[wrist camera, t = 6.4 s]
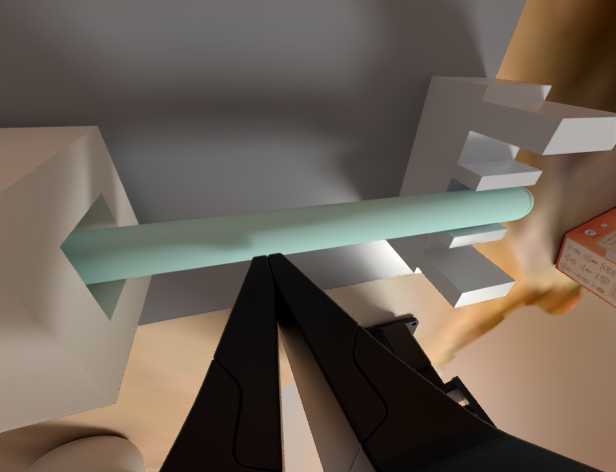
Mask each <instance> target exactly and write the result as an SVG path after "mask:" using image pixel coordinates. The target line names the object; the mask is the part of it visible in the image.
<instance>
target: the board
mask: <svg viewBox="0 0 616 472" xmlns="http://www.w3.org/2000/svg"><path fill="white" fill-rule="evenodd" d="M525 2H526V0H0V128H28V127H69V126H98V128H99V131H100V133H101V135H102V138H103V140H104V142H105V145H106V147H107V150H108V152H109V154H110V157H111V159H112V162H113V164H114V166H115V169H116V171H117V174H118V176H119V178H120V181H121V183H122V185H123V188H124V190H125V193H126V195H127V197H128V200H129V202H130V205H131V207H132V209H133V212H134V214H135V217H136V219H137V221H138V224H139V225H141V224H150V223H159V222H168V221H178V220H187V219H196V218H206V217H215V216H224V215H234V214H243V213H252V212H262V211H271V210H280V209H289V208H299V207H308V206H317V205H327V204H336V203H345V202H355V201H364V200H373V199H382V198H392V197H401V196H410V195H420V194H429V193H438V192H448V191H457V190H466V189H472V190H474V191H483V190H492V189H501V188H510V187H519V186H529V185H535V183H536V181H537V180H538V178H539V176H540V175H541V173H542V170H539V169H537V168H534V167H532V166H529V165H526V164H524V163H521V162H519V161H516V160H514V158H515V156H516V154H517V152H518V150H519V148H523V149H525V150H528V151H531V152H534V153H537V154H540V155H551V154H565V153H578V152H591V151H605V150H612V148H613V147H614V146H615V144H616V113H613V112H607V111H601V110H595V109H590V108H584V107H578V106H572V105H567V104H561V103H555V102H549V101H544V100H545V98H546V96H547V94H548V92H549V90H550V88H551V85H543V84H535V83H527V82H519V81H511V80H503V79H495V77H496V75H497V72H498V70H499V67H500V65H501V62H502V60H503V57H504V55H505V52H506V50H507V47H508V45H509V42H510V40H511V37H512V35H513V32H514V30H515V27H516V25H517V22H518V20H519V17H520V15H521V12H522V10H523V7H524V4H525ZM507 230H508V229H507V228H506V227H504V226H503V225H501V224H499V223H492V224H485V225H478V226H472V227H465V228H458V229H452V230H445V231H439V232H432V233H425V234H419V235H412V236H405V237H399V238H392V239H385V240H379V241H372V242H366V243H359V244H352V245H346V246H339V247H332V248H326V249H319V250H313V251H306V252H299V253H293V254H286V255H284V256H285V257H286V258H288V259H289V260H290V261H291V262H292V263H293V264H294V265H295V266H296V267H297V268H298V269H300V270H301V271H302V272H303V273H304V274H305V275H306V276H307V277H308V278H309V279H310V280H312V281H313V282H314V283H315V284H316V285H317V286H318V287H319V288H320V289H321V290H327V289H332V288H337V287H342V286H348V285H353V284H358V283H363V282H369V281H374V280H379V279H384V278H389V277H395V276H400V275H405V274H410V273H414V274H415V273H420V272H422V273H423V274H424V275H425V276H426V277H427V279H428V280H429V281H430V282H431V283H432V284H433V285H434V286H435V287H436V289H437V290H438V291H439V292H440V293H441V294H442V295H443V296H444V298H445V299H446V300H447V301H448V302H449V303H450V304H451V305H452V306H453V308H456V307H460V306H465V305H469V304H473V303H477V302H481V301H485V300H490V299H494V298H498V297H502V296H505V295H506V294H507V293H508V291H509V290H510V289H511V287H512V286H513V284H514V283H515V282H516V281H515V280H514V279H513V278H511V277H510V276H509V275H508V274H506V273H505V272H504V271H503V270H501V269H500V268H499V267H498V266H496V265H495V264H494V263H492V262H491V261H490V260H489V259H487V258H486V257H485V256H484V255H482V254H481V253H480V252H479V251H477V250H476V249H475V248H474V247H472V246H471V245H472V244H478V243H484V242H489V241H495V240H501V239H502V238H503V236H504V235H505V233H506V231H507ZM250 263H251V260H246V261H240V262H233V263H226V264H220V265H213V266H206V267H200V268H193V269H186V270H180V271H173V272H167V273H160V274H153V275H152V277H151V280H150V284H149V287H148V291H147V294H146V298H145V301H144V305H143V308H142V312H141V315H140V319H139V322H138V326H139V325H144V324H149V323H154V322H159V321H165V320H170V319H175V318H180V317H186V316H191V315H196V314H201V313H206V312H212V311H217V310H222V309H227V308H233V306H234V303H235V301H236V298H237V296H238V293H239V291H240V288H241V286H242V283H243V281H244V278H245V276H246V273H247V271H248V268H249V265H250Z"/></svg>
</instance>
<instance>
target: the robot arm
mask: <svg viewBox="0 0 616 472" xmlns="http://www.w3.org/2000/svg"><path fill="white" fill-rule="evenodd" d="M418 323H419V321H418V320H417V319H416V318H415V317H414V318H409V319H405V320H401V321H397V322H393V323H389V324H384V325H380V326H376V327H372V328H368V329H364V328H363V327H362V326H361V325H358V323H357V322H356V321H355V320H354V319H353V318H352V317H351V316H350V315H349V314H348V313H346V312H345V311H344V310H343V309H342V308H341V307H340V306H339V305H338V304H337V303H336V302H334V301H333V300H332V299H331V298H330V297H329V296H328V295H327V294H326V293H325V292H324V291H322V290H321V289H320V288H319V287H318V286H317V285H316V284H315V283H314V282H313V281H312V280H310V279H309V278H308V277H307V276H306V275H305V274H304V273H303V272H302V271H301V270H300V269H298V268H297V267H296V266H295V265H294V264H293V263H292V262H291V261H290V260H289V259H288V258H286V257H285V256H284V255H283V254H282V253H274V254H269V255H268V257H267V256H266V255H261V256H255V257H253V258H252V260H251V263H250V265H249V268H248V271H247V273H246V276H245V278H244V281H243V283H242V286H241V288H240V291H239V293H238V296H237V298H236V301H235V303H234V306H233V308H232V311H231V313H230V316H229V319H228V321H227V324H226V326H225V329H224V331H223V334H222V336H221V339H220V341H219V344H218V346H217V349H216V351H215V354H214V357H213V358H214V359H213V360H212V361H211V364H210V366H209V369H208V371H207V374H206V376H205V379H204V381H203V383H202V386H201V388H200V390H199V392H198V395H197V397H196V399H195V402H194V404H193V406H192V408H191V410H190V412H189V414H188V416H187V418H186V420H185V422H184V424H183V426H182V428H181V430H180V432H179V434H178V436H177V438H176V440H175V442H174V444H173V446H172V448H171V450H170V451H169V453H168V455H167V457H166V459H165V461H164V463H163V465H162V467H161V469H160V471H159V472H285V461H284V440H283V420H282V401H281V382H280V362H279V343H278V328H279V332H280V335H281V338H282V341H283V344H284V348H285V351H286V354H287V357H288V360H289V363H290V367H291V370H292V373H293V376H294V379H295V382H296V385H297V389H298V392H299V395H300V398H301V401H302V404H303V408H304V411H305V414H306V417H307V420H308V423H309V427H310V430H311V433H312V436H313V439H314V442H315V445H316V448H317V452H318V455H319V458H320V461H321V464H322V467H323V471H324V472H603V471H601V470H598V469H596V468H593V467H591V466H588V465H586V464H583V463H581V462H578V461H576V460H573V459H571V458H568V457H565V456H563V455H560V454H558V453H555V452H553V451H550V450H548V449H545V448H542V447H540V446H537V445H535V444H532V443H530V442H527V441H525V440H522V439H520V438H517V437H515V436H512V435H510V434H508V433H506V432H504V431H502V430H500V429H497V427H496V426H495V425H494V423H493V422H492V421H491V420H490V418H489V417H488V416H487V414H486V413H485V412H484V410H483V409H482V408H481V406H480V405H479V404H478V403H477V401H476V400H475V398H474V397H473V396H472V395H471V393H470V392H469V391H468V389H467V388H466V387H465V385H464V384H463V383H462V382H461V380H460V379H459V377H458V376H456V377H454V378H452V380H451V381H450V382H447V383H445V384H444V383H443V381H442V380H441V378H440V377H439V375H438V374H437V372H436V371H435V369H434V368H433V366H432V365H431V361H430V360H429V358H428V357H427V355H426V354H425V352H424V351H423V349H422V348H421V346H420V345H419V343H418V342H417V340H416V339H415V337H414V336H413V334H414V332H415V329H416V327H417V325H418ZM277 324H278V326H277ZM462 400H463V401H464V403H465V404H466V405H465V406H461V405H460V404H459V402H461V401H462Z"/></svg>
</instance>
